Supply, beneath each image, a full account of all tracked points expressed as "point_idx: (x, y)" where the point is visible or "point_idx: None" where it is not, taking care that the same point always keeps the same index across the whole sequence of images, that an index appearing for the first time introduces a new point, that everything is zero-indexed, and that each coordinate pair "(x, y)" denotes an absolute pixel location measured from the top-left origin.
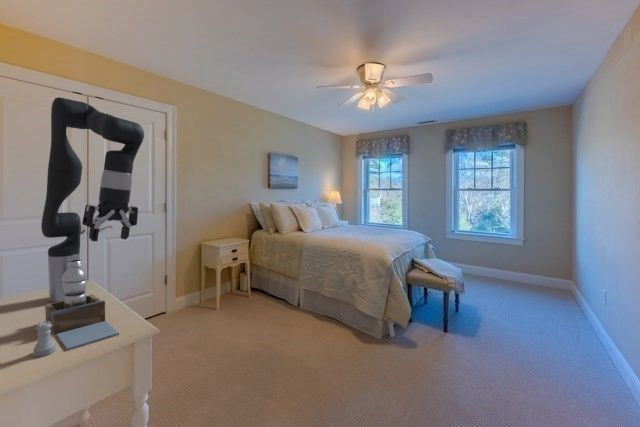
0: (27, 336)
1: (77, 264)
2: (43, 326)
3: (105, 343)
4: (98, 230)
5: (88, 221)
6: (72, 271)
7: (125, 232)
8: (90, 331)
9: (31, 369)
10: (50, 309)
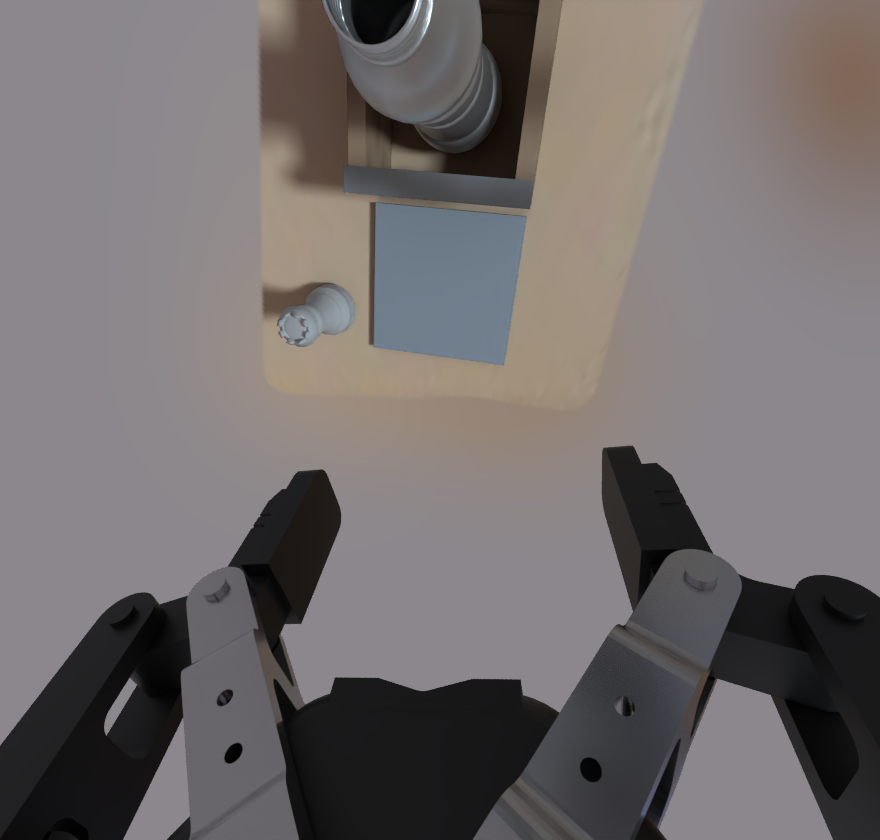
0: (312, 116)
1: (386, 56)
2: (293, 342)
3: (455, 385)
4: (303, 610)
5: (136, 725)
6: (370, 67)
7: (620, 563)
8: (453, 278)
9: (303, 375)
10: (350, 78)
